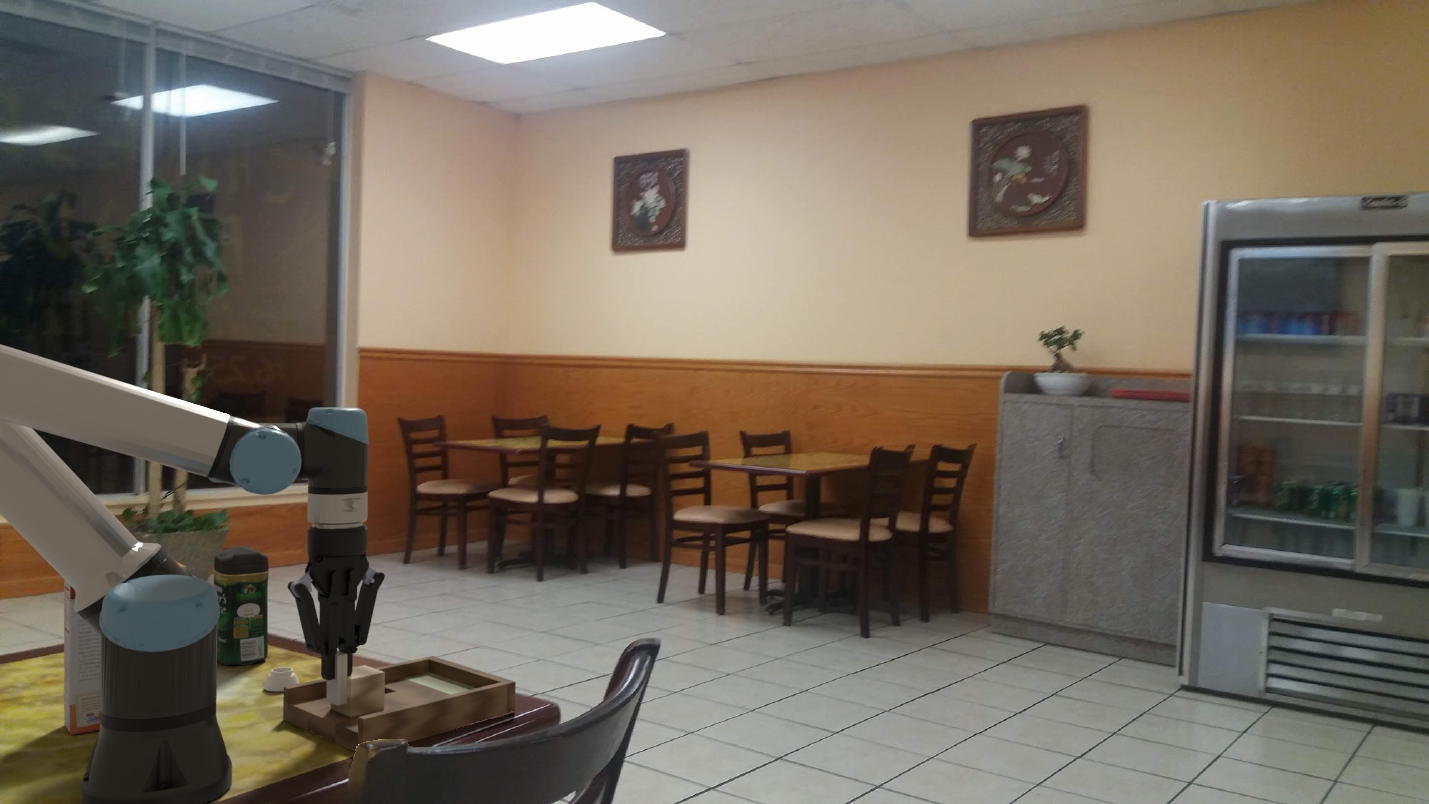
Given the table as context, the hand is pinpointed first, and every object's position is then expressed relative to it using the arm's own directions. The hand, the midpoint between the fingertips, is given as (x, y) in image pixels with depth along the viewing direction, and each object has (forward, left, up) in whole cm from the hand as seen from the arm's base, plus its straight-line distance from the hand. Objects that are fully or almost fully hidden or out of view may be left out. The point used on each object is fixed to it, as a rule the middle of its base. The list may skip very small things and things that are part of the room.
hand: (336, 702), depth 142 cm
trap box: (+8, -4, -4) cm, 10 cm away
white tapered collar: (+16, +19, -5) cm, 26 cm away
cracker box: (-4, +30, -4) cm, 30 cm away
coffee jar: (+28, +36, -4) cm, 46 cm away
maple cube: (+3, -1, -2) cm, 4 cm away
